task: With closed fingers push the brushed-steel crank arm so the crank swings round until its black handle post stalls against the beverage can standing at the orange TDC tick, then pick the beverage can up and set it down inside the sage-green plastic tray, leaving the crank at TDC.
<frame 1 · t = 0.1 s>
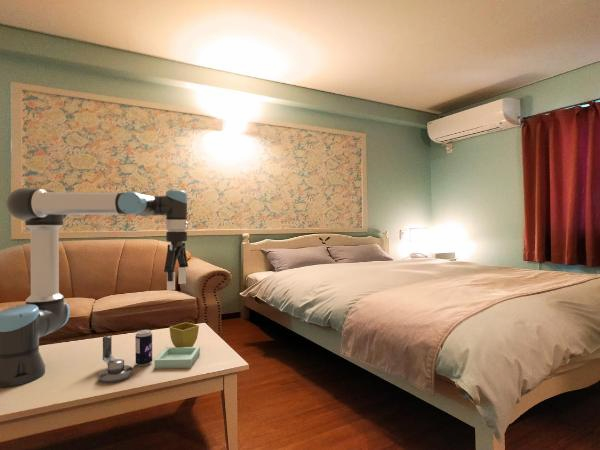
hand: (176, 286, 134), 28 cm above the table, fingers open, 13 cm apart
flower pot: (184, 347, 147), on the table
crank base: (116, 376, 119), on the table
crank: (111, 353, 122), point 7 cm above the table, hinge at 130.0°
beverage can: (144, 364, 130), on the table
tray: (178, 361, 132), on the table
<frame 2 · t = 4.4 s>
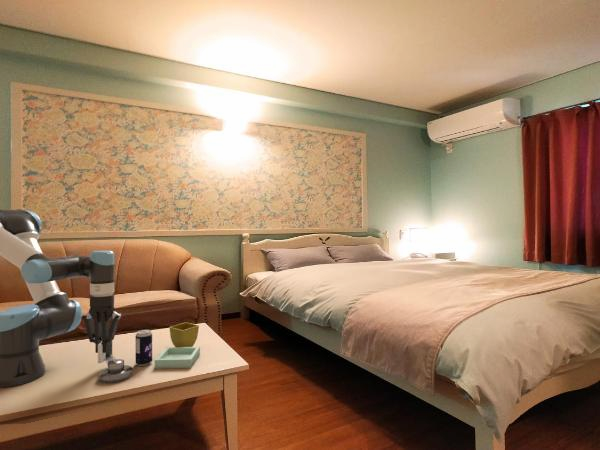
hand: (101, 361, 123), 3 cm above the table, fingers closed
crank: (112, 353, 122), point 7 cm above the table, hinge at 128.6°, touching gripper
everything else where it was.
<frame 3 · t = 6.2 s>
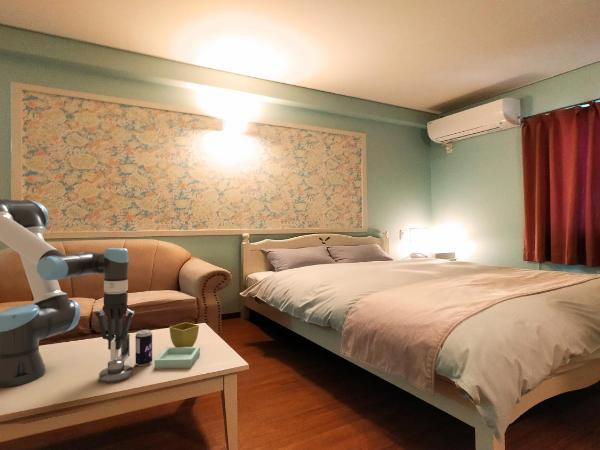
hand: (114, 358, 124), 4 cm above the table, fingers closed
crank: (120, 352, 124), point 7 cm above the table, hinge at 99.0°
everything else where it was.
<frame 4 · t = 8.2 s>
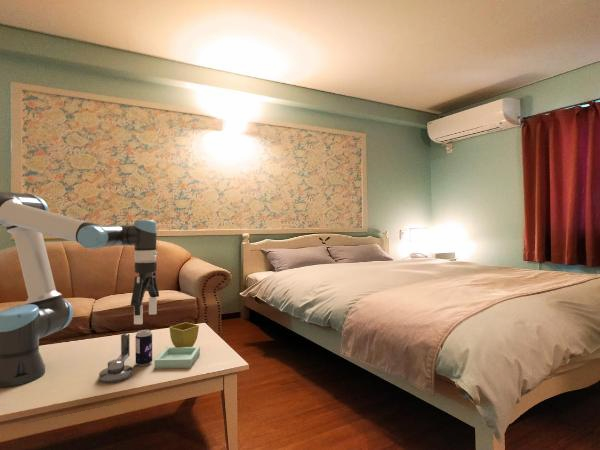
hand: (145, 318, 130), 17 cm above the table, fingers open, 13 cm apart
nothing on the table moved.
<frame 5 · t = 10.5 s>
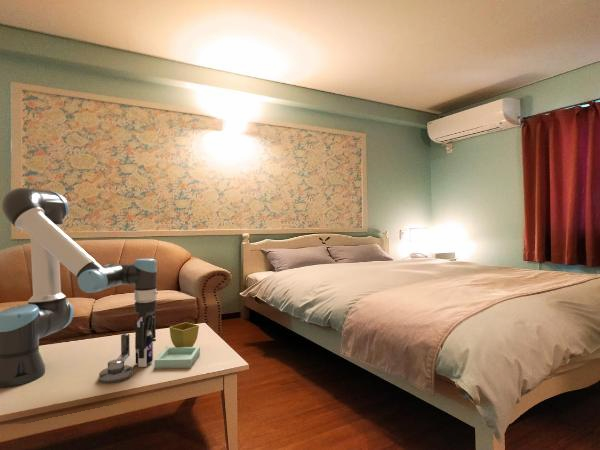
hand: (145, 362, 130), 0 cm above the table, fingers closed on beverage can, 6 cm apart
beverage can: (144, 364, 130), on the table, touching gripper
everything else where it was.
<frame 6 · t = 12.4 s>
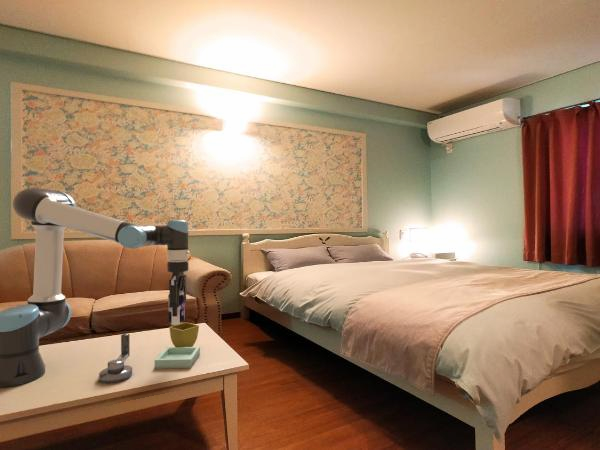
hand: (178, 322, 132), 15 cm above the table, fingers closed on beverage can, 6 cm apart
beverage can: (176, 323, 132), point 14 cm above the table, touching gripper
everything else where it was.
when the fingers open (3 cm above the table, at t = 14.8 s): beverage can drops 1 cm, resting on tray.
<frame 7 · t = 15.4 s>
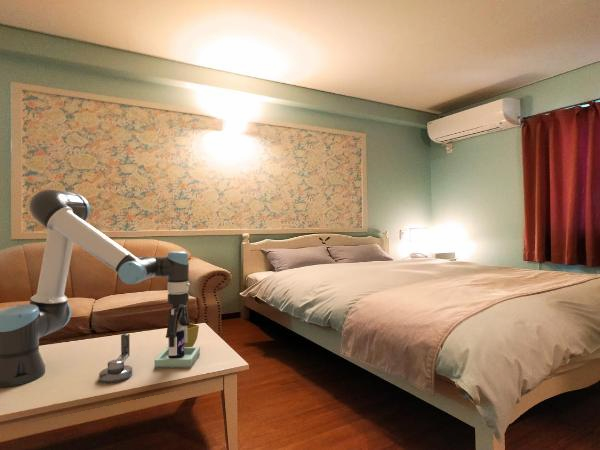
hand: (178, 348, 132), 5 cm above the table, fingers open, 13 cm apart
beverage can: (176, 358, 132), point 1 cm above the table, touching tray
everything else where it was.
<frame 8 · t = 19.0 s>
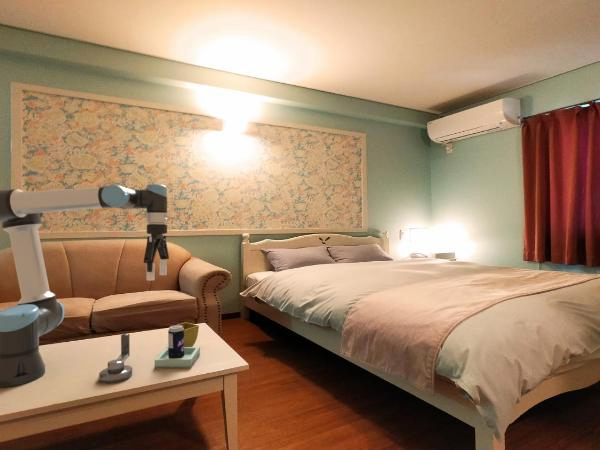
hand: (157, 277, 138), 31 cm above the table, fingers open, 13 cm apart
nothing on the table moved.
at the end: beverage can inside the target area on the tray (0.7 cm from its centre), point 0.8 cm above the tray's base; beverage can tilted 0°; crank at +99° (first picture: +130°) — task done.
